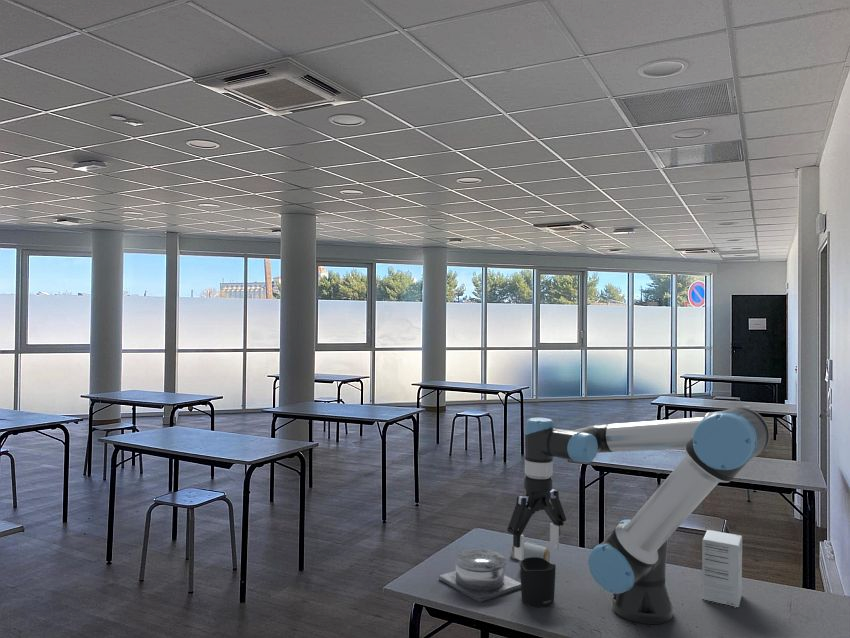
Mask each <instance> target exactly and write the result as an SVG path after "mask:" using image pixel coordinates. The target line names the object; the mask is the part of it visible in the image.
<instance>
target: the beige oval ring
mask: <svg viewBox="0 0 850 638" xmlns="http://www.w3.org/2000/svg"><path fill="white" fill-rule="evenodd" d="M524 542H527V543H531V544H535V545H537V544H536V543H534V542H531V541H527V540H526V539H524ZM514 547H515V546H514V545H513V544H512V546H510V557H511V559H513V560H517V561H519V559H517V558H515V557H514Z"/></svg>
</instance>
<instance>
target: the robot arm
mask: <svg viewBox="0 0 850 638" xmlns="http://www.w3.org/2000/svg"><path fill="white" fill-rule="evenodd" d="M770 431H771V430H770V427H769V425H768V423H767V421H766V420H765V418H764V417H763V416H762V415H761V414H760V413H758V412H756V410H753V409H751V408H747V407H731V408H729V409H725V410H719V411H711V412H710V411H709V412H706V414H705V415H704V416H701V417H700V416H699V417H698V416H697V417H687V418H673V419H659V420H658V419H657V420H647V421H646V420H644V421H633V422H632V421H631V422H620V423H619V422H617V423H610V424H609V423H594V424H593V423H592V424H591V425H588V426H584V427H580V428H576V429H572V430H571V429H569V430H568V429H562V428H557V427H556V428H555V424H554V421H553V419H550V418H545V417H530V418H528V419H527V420H526V421H525V431H524V432H525V433H524V444H525V446H524V448H525V449H524V452H525V453H524V474H525V475H524V477H523V478H524V480H523V481H524V483H523V488H524V490H525V495H524V496H522V495H517V496H516V502H515V506H514V510H513V513H512V515H511V518H510V521H509V523H508V526H507V533H509V534H512V537H513V541H512V545H514V546H515V547H514V557H515V558H517V559H519V560H521V561H522V560H524V540H525V535H524V534H523V533H524V532H525V529H526V527H527V525H528V523H529V522H530V519H531V517H532V516H533V515H534V514H535V513H536V512H539V511H541V510H542V511H545V513H546V515H547V516H548V518H549V519H550V520H551V523H549V548H551V549H554V550H557V551H558V550H560V536H561V527H564V525H565V523H564V522H566V521H567V516H566V515H565V511H564V509H563V506H562V503H561V500H560V494H559V490H557V489H554V488H553V477H552V476H553V472H554V468H553V467H554V466H553V465H554V459H553V458H559V459H563V460H568V461H573V462H576V463H587V464H588V463H591V462H593V461H594V459H595V458H596V456H597V454H599V453H603V454H604V453H614V452H615V453H616V452H617V453H618V452H641V451H671V450H672V451H673V450H684V451H685V456H684V458H682V460H681V461H680V462H679V463H678V464H677V466H676V467H675V468H674V469H673V470H672V471H671V473H670V474H669V475H668V476H667V477H666V479H664V481H663V482H662V483H661V484H660V486H658V488H657V489H656V490H655V491H654V492H653V494H652V495H651V496H650V497H649V499H648V500H646V502H645V503H644V504H643V505H642V507H641V508H640V509H639V510H638V511H637V512H636V514H635V515H634V516H633V517H632V518H631V519H622V520H621V521H619V523H618V525H616V527H615V528H614V529H613V530H612V531H611V532H610V534H609V535H608V536H607V537H606V538H605V539H604V540H603V541H602V542H601V543H599V544H597V545H595V546H594V547H593V548H592V550H591V551H590V553H589V555H588V560H587V561H588V562H587V563H588V565H589V572H590V574H591V577H592V578H593V580H594V581H595V582H596V584H597V585H598V587H599V586H600V588H602V589H603V590H604V591H606V592H608V593H612V597H611V608H612V611H613V612H614V613H616V615H618V616H620V617H621V618H623V619H625V620H628V621H631V622H635V623H640V624H643V625H647V624H648V625H659V624H664V623H668V622H669V621H671V619H672V618H673V612H674V611H673V610H674V609H673V605H672V602H671V601H672V600H671V597H670V594H669V592H668V587H667V585H666V580H667V579H666V578H667V577H666V576H667V575H666V574H667V542H668V541H667V540H669V538H670V537H671V536H672V535H673V533H674V532H676V530H677V529H678V528H679V527H680V526H681V525H682V524H683V523H684V521H685V520H687V518H688V517H689V516H690V515H691V514H692V513H693V512H694V510H696V508H697V507H698V506H699V505H700V504H701V503H702V501H704V499H705V498H706V497H707V496H708V495H709V494H710V493H711V492H712V491H713V489H714V488H715V487H716V486H717V485H718V484H719V483H730V482H731V481H732V480H733V479H734V478H735V477H736V476H737V475H739V473H740V472H741V471H742V469H743V468H745V466H746V465H747V464H748V463H749V462H750V461H751V460H752V459H754V458H755V457H757V456H759V455H761V454H763V452H765V450H766V449H767V448H768V445H769V443H770V439H771V432H770ZM519 560H518V561H519Z"/></svg>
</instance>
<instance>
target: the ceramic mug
mask: <svg viewBox="0 0 850 638" xmlns="http://www.w3.org/2000/svg"><path fill="white" fill-rule="evenodd" d="M527 542H528V541H527ZM527 542H524V559H525V558H529V557H540V558H543V559H545V560H546V561H548V562H549V563H550V559H551V557H550V556H551V555H550V553H551V552H550V549H549V548H547V547H545V546H543V545H539V544H538V545H537V544H536V543H534V544H531V543H532V542H530V543H527ZM535 544H536V545H535ZM518 563H519V568H520V569H521V564H520V563H521V560H518Z"/></svg>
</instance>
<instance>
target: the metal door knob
mask: <svg viewBox="0 0 850 638" xmlns="http://www.w3.org/2000/svg"><path fill="white" fill-rule="evenodd" d="M454 564H455V570H454V571H453V570H452V571H449V572H447V573H444V574H439V575H438V580H439V579H440V580H439V581H440V582H442V581H443V583H444V584H446V585H448V586H449V587H451V588H452V589H455V590H456V591H458V592H460V593H462V594H463V595H465V596H468V597H469V598H471V599H472V600H474V601H476V602H477V603H483V602H485V601H488V600H491V599H494V598H498V597H500V596H503V595H505V594H508V593H512V592H515V591H517V590H521V581H520V582H519V581H517V580H516V579H514V578H511V577H509V576H508V575H506V573H505V568H506V567H505V566H506V564H507V558H506V557H505V556H504V555H503V554H501V553H499V552H497V551H494V550H489V549H481V548H480V549H474V548H473V549H465V550H463V551H460V552H458V553H457V554H455V556H454Z"/></svg>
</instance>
